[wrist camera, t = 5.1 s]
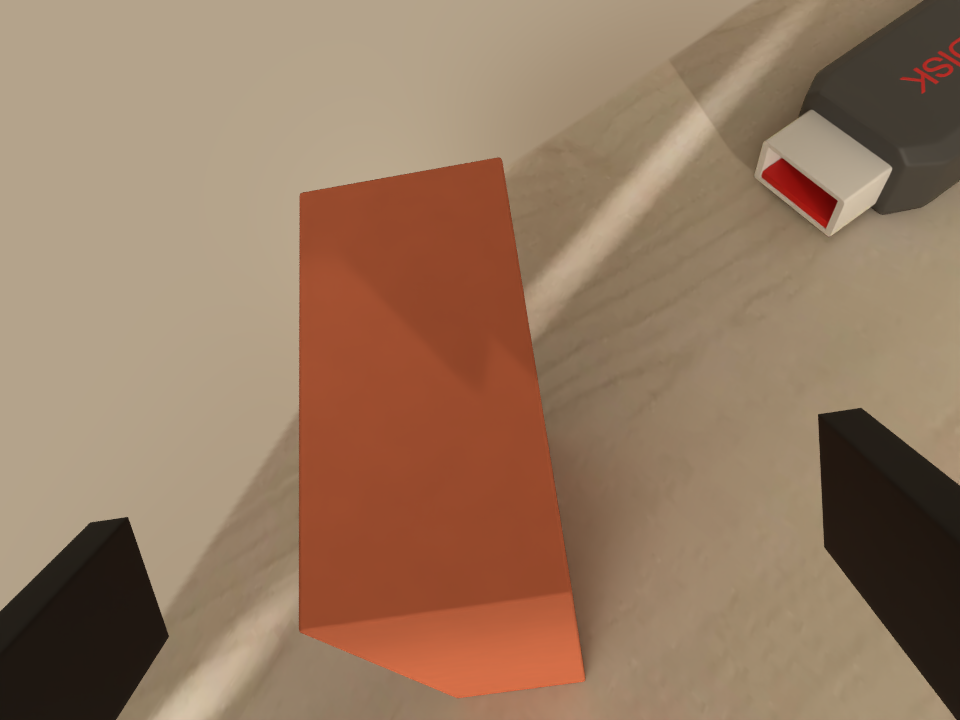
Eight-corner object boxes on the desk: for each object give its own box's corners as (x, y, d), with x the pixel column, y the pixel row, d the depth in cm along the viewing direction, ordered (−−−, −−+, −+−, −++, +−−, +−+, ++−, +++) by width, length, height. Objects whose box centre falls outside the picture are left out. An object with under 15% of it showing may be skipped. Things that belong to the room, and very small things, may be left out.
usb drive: (1106, 71, 26) (1158, 1, 24) (850, 261, 24) (879, 206, 22) (976, -2, 29) (1011, -73, 26) (732, 165, 27) (746, 106, 24)
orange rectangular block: (456, 698, 20) (297, 633, 9) (434, 448, 23) (298, 192, 13) (585, 681, 20) (572, 594, 9) (545, 431, 23) (500, 155, 12)
